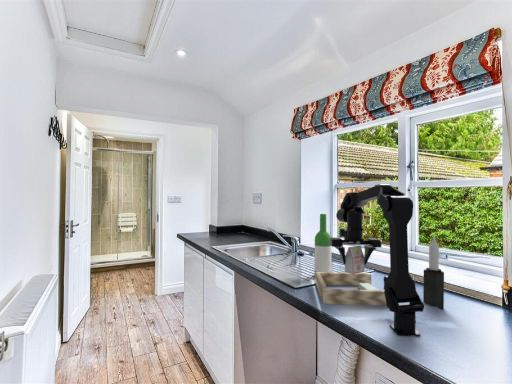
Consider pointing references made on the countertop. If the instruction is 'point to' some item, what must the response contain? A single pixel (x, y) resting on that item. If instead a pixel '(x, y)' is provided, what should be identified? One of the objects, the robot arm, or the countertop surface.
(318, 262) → the wine bottle
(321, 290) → the beige shallow tray
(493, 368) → the countertop surface
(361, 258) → the white printed packet
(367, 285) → the offcut top
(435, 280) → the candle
